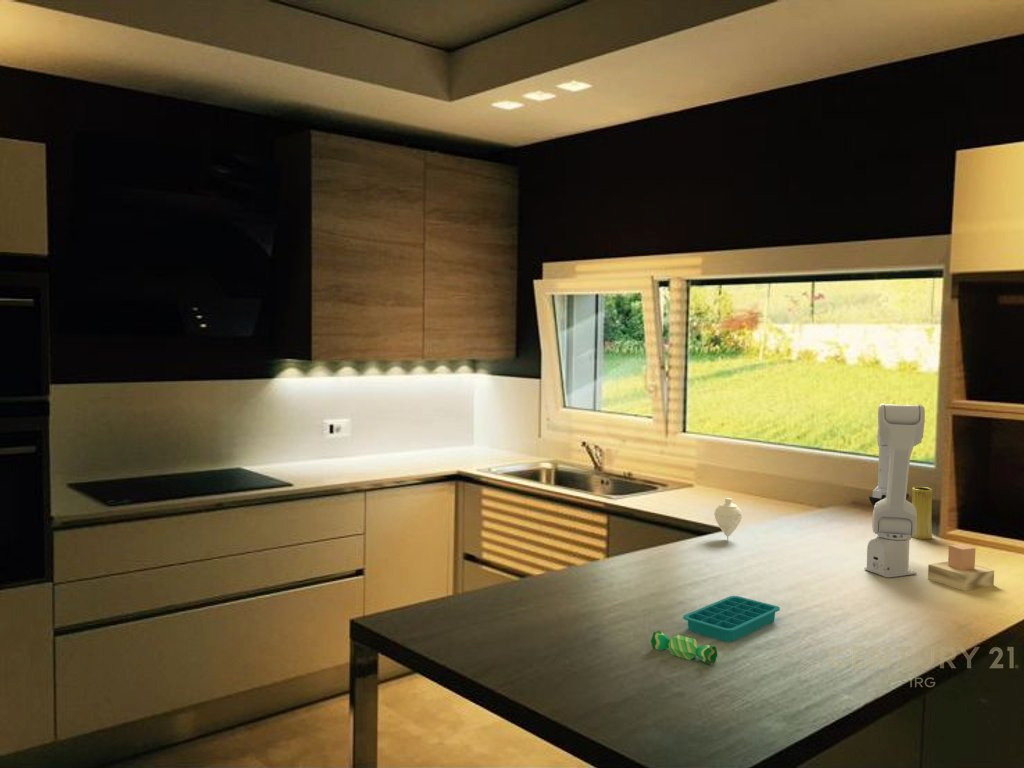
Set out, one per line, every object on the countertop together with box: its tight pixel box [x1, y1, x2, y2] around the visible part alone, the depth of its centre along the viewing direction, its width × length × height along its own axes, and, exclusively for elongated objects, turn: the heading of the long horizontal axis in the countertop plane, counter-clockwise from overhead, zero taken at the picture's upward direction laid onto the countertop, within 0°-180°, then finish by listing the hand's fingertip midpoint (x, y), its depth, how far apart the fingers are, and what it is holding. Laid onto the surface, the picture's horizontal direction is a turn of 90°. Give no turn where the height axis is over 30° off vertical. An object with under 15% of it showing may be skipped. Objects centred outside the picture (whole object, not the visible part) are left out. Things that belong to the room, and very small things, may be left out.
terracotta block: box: [947, 543, 976, 570], centre depth 206 cm, size 4×4×5 cm
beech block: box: [927, 560, 995, 591], centre depth 206 cm, size 10×10×4 cm
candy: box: [650, 630, 718, 666], centre depth 160 cm, size 12×3×4 cm
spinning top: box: [714, 497, 743, 540], centre depth 246 cm, size 8×8×12 cm
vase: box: [911, 486, 933, 540], centre depth 249 cm, size 6×6×14 cm
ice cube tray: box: [682, 595, 781, 643], centre depth 176 cm, size 12×20×3 cm, turn 134°
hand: (888, 521), depth 228 cm, fingers open, 7 cm apart
